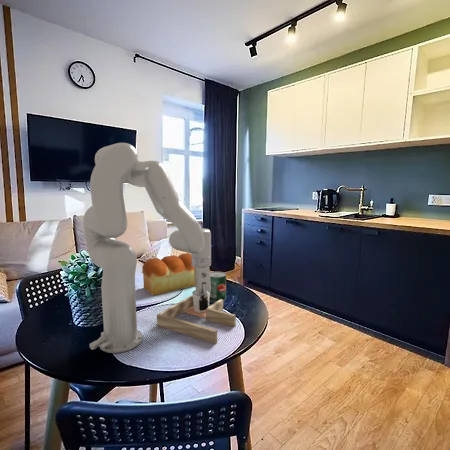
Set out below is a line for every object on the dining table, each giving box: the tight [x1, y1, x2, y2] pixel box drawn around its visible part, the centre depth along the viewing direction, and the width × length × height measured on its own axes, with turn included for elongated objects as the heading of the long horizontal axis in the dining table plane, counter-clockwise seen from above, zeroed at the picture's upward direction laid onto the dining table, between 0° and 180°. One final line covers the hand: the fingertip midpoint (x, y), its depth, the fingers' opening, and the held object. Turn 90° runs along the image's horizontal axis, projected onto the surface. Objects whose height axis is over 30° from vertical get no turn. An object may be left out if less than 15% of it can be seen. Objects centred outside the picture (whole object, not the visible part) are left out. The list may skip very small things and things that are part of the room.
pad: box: [183, 304, 212, 320], centre depth 110 cm, size 10×10×1 cm
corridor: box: [156, 294, 237, 345], centre depth 102 cm, size 23×24×4 cm
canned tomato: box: [209, 271, 227, 303], centre depth 121 cm, size 8×8×11 cm
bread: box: [141, 252, 195, 296], centre depth 136 cm, size 25×12×15 cm, turn 126°
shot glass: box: [191, 289, 210, 313], centre depth 110 cm, size 7×7×7 cm
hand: (201, 305), depth 110 cm, fingers open, 7 cm apart
